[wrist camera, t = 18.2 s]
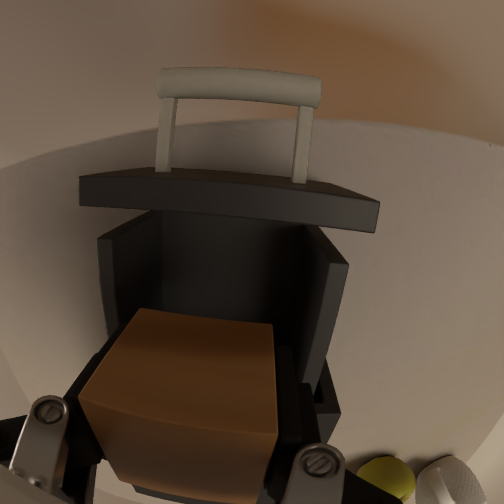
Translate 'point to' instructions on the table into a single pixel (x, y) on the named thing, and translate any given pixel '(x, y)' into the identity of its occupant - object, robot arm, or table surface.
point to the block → (187, 405)
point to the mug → (448, 484)
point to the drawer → (230, 227)
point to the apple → (389, 476)
